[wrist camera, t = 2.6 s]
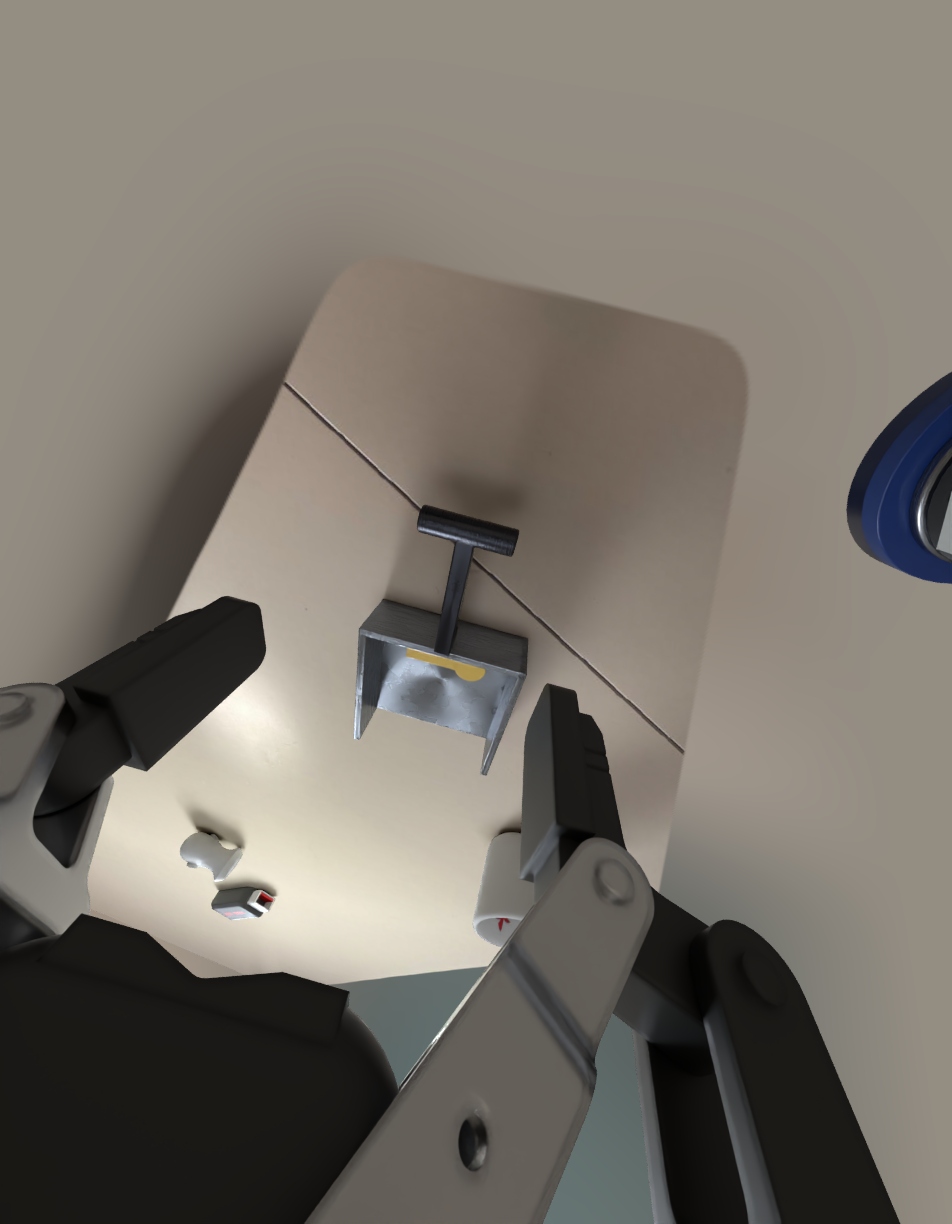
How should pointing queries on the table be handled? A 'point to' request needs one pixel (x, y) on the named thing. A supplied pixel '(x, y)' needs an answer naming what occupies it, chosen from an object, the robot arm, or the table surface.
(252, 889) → the usb drive
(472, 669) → the yellow spoon
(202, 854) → the smooth white sculpture
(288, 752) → the table surface
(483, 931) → the cup
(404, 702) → the metal dustpan with handle
